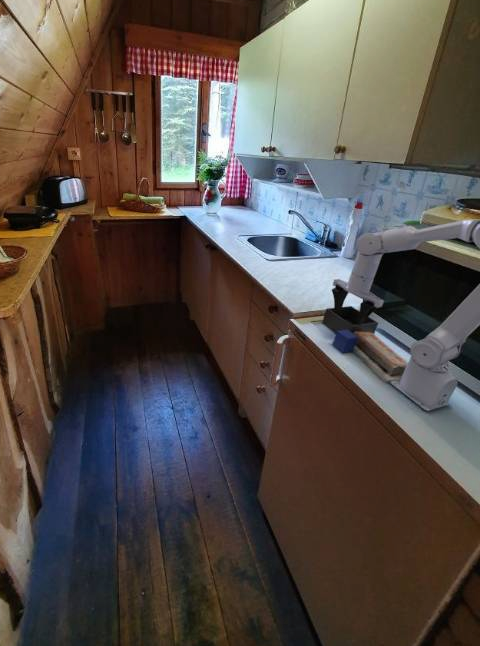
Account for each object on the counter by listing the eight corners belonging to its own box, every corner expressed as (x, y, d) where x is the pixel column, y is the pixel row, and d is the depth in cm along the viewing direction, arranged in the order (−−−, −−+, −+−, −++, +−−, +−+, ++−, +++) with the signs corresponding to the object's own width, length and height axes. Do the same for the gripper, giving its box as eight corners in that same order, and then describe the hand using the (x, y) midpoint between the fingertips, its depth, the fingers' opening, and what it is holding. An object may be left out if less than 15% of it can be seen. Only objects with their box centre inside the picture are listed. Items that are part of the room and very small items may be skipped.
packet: (352, 351, 90) (358, 337, 88) (342, 353, 88) (347, 338, 86) (342, 343, 93) (347, 329, 91) (332, 345, 92) (337, 330, 90)
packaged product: (347, 329, 93) (376, 329, 94) (342, 342, 94) (370, 342, 96) (391, 369, 76) (425, 369, 78) (384, 385, 78) (417, 384, 80)
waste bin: (372, 337, 98) (378, 322, 96) (347, 341, 94) (352, 326, 92) (346, 319, 108) (351, 305, 106) (322, 322, 104) (326, 308, 102)
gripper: (396, 284, 81) (379, 328, 86) (349, 264, 93) (336, 304, 98) (380, 287, 78) (363, 332, 83) (333, 266, 89) (321, 307, 94)
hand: (347, 317), depth 90 cm, fingers open, 7 cm apart
